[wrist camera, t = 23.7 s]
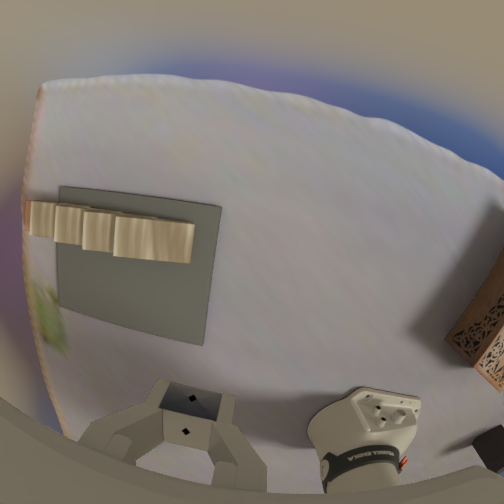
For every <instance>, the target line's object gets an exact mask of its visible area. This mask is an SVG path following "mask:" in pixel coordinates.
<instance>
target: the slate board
mask: <svg viewBox="0 0 504 504" xmlns="http://www.w3.org/2000/svg"><path fill="white" fill-rule="evenodd" d="M59 203H67V204H76V205H85V206H92V208H95V209H104V210H113V211H121V212H124V214H133V215H143V216H153V217H158V219H164V220H174V221H183V222H192V223H194V224H195V228H194V236H193V244H192V252H191V261H190V263H179V262H168V261H158V260H147V259H137V258H127V257H117V256H113V253H112V252H102V251H93V250H83V249H82V246H83V245H76V244H68V243H60V242H57V271H58V292H59V305H60V306H61V307H64V308H66V309H69V310H72V311H75V312H78V313H81V314H84V315H87V316H90V317H93V318H96V319H100V320H103V321H106V322H109V323H113V324H116V325H120V326H123V327H127V328H130V329H134V330H137V331H141V332H145V333H149V334H153V335H156V336H160V337H165V338H169V339H173V340H177V341H182V342H186V343H191V344H195V345H200V346H203V343H204V336H205V327H206V319H207V310H208V302H209V295H210V287H211V279H212V272H213V265H214V257H215V250H216V244H217V237H218V230H219V223H220V217H221V210H222V207H219V206H212V205H206V204H199V203H193V202H186V201H179V200H172V199H165V198H157V197H150V196H142V195H134V194H126V193H118V192H110V191H101V190H92V189H83V188H73V187H60V197H59Z"/></svg>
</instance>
